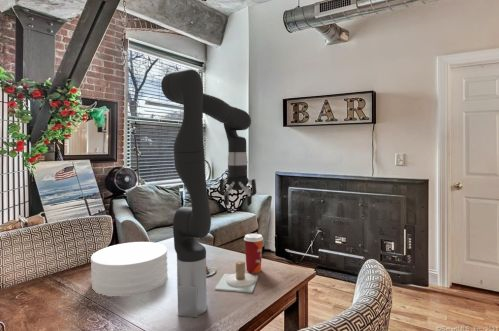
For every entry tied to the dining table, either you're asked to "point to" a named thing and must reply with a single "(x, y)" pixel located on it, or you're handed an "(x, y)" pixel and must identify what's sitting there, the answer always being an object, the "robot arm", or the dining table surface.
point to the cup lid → (240, 277)
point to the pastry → (210, 270)
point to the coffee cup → (253, 252)
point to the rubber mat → (225, 287)
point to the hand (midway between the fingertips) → (238, 205)
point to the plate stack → (129, 268)
